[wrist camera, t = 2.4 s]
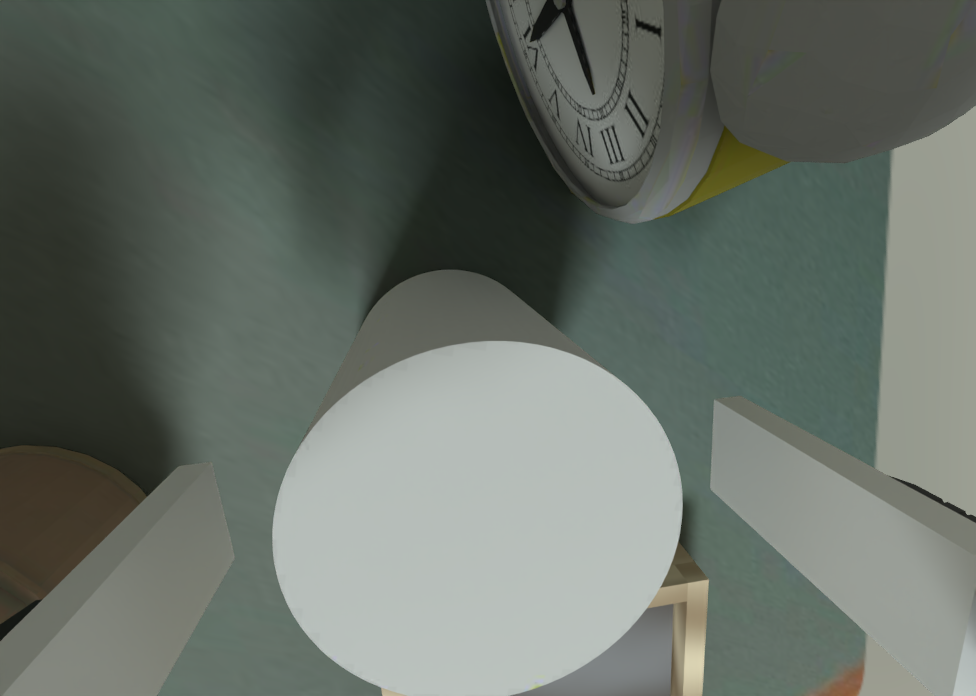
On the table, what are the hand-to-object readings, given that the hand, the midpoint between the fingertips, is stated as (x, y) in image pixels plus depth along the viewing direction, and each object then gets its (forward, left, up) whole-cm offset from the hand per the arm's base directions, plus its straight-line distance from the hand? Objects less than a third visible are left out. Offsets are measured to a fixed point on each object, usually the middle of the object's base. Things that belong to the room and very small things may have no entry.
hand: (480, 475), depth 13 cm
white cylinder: (0, 0, -9) cm, 9 cm away
